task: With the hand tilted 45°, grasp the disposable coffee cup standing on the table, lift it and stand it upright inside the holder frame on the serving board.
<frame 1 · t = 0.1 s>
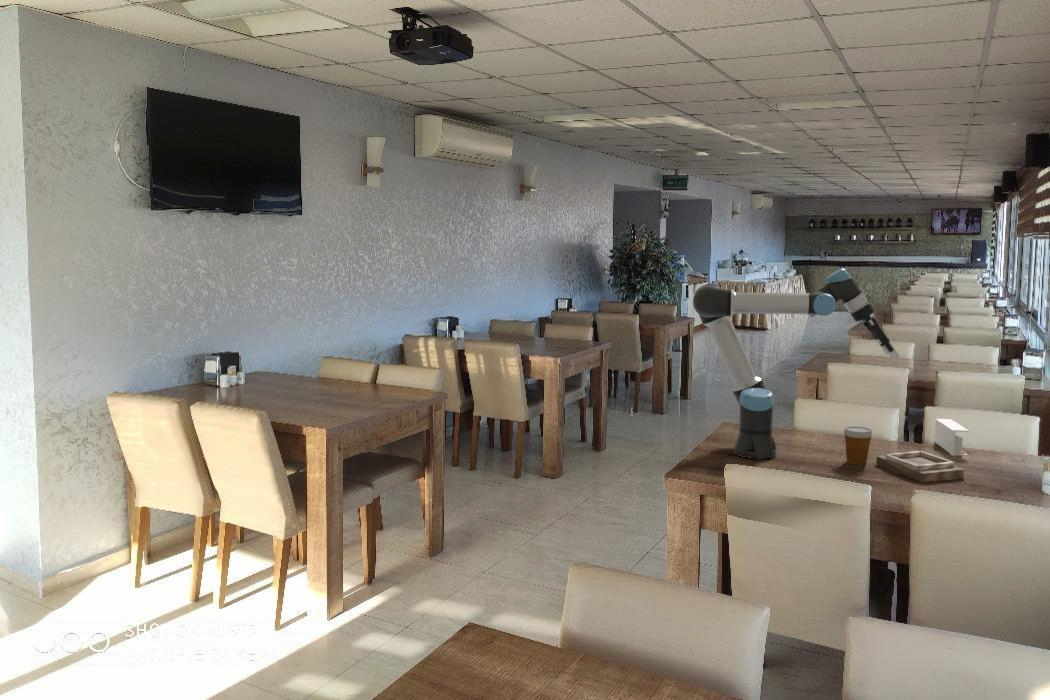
hand: (893, 355, 297), 36 cm above the table, tool tilted 35°, fingers open, 13 cm apart
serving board: (918, 471, 278), on the table
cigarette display: (949, 449, 307), on the table
disposable coffee cup: (856, 463, 288), on the table
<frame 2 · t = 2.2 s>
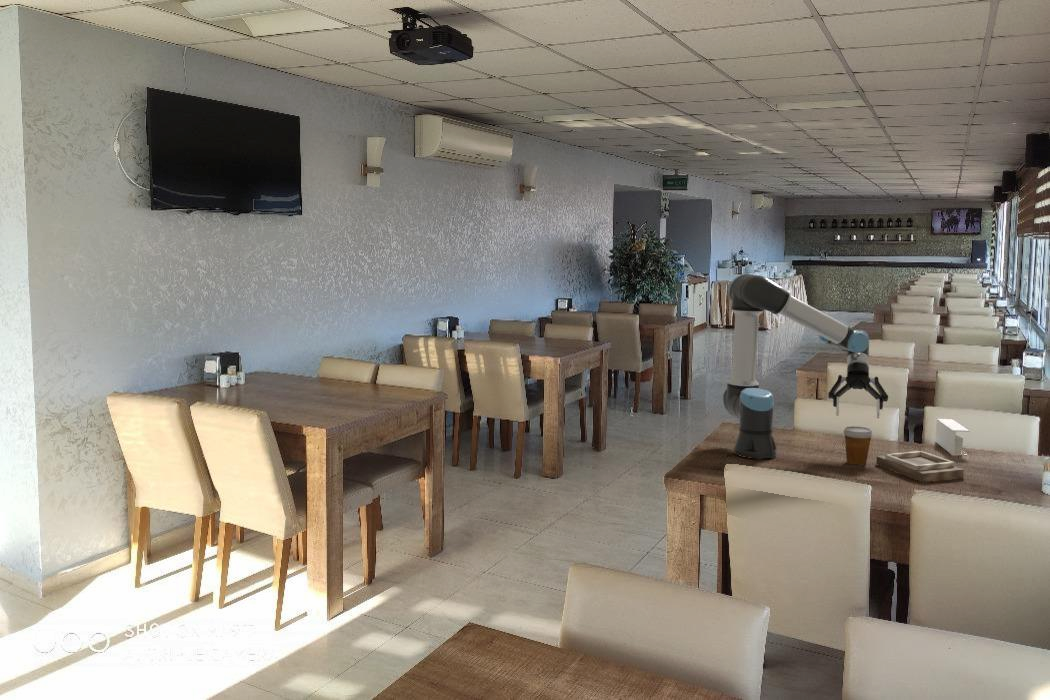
hand: (857, 415, 296), 15 cm above the table, tool tilted 45°, fingers open, 13 cm apart
nothing on the table moved.
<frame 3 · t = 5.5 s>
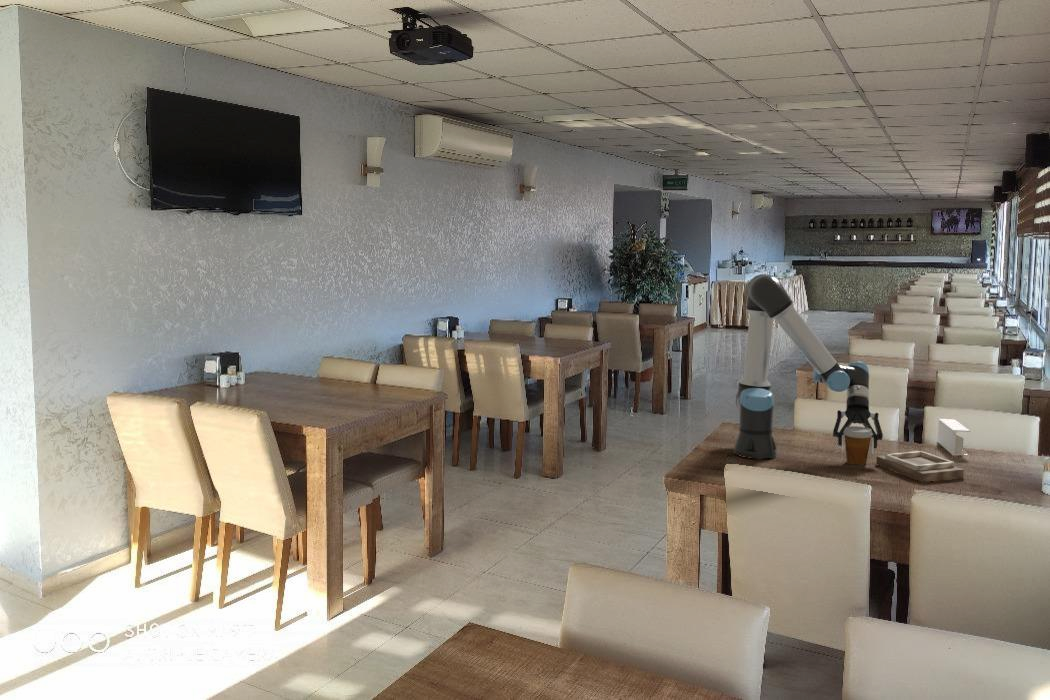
hand: (857, 454, 285), 4 cm above the table, tool tilted 45°, fingers closed on disposable coffee cup, 9 cm apart
disposable coffee cup: (856, 463, 288), on the table, touching gripper
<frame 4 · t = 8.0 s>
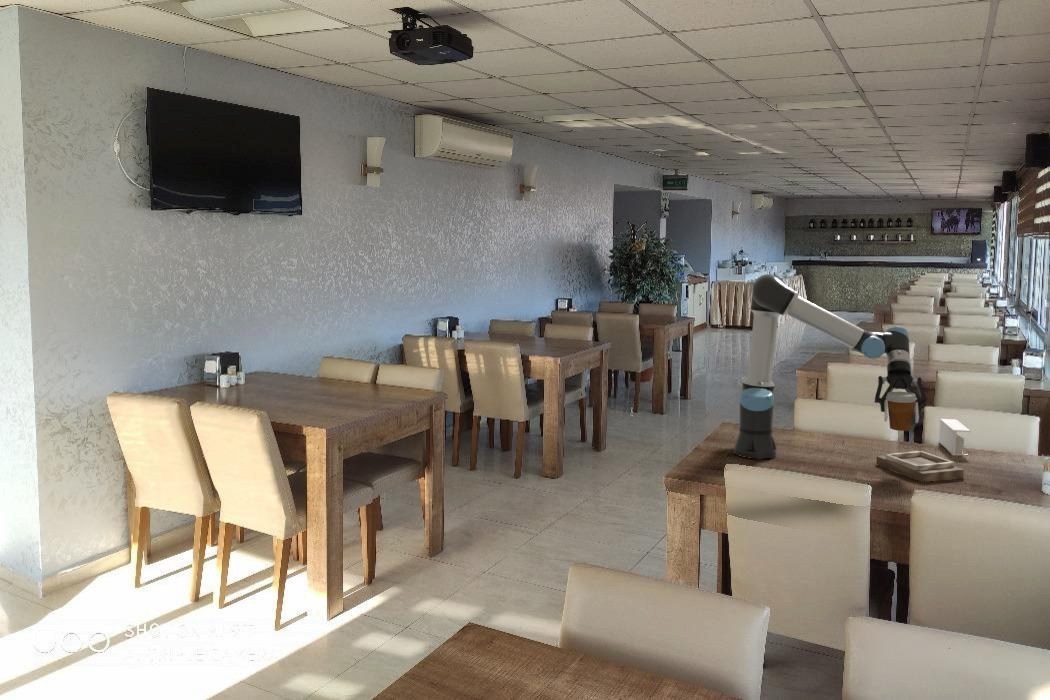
hand: (901, 419, 276), 18 cm above the table, tool tilted 45°, fingers closed on disposable coffee cup, 9 cm apart
disposable coffee cup: (900, 429, 280), point 14 cm above the table, touching gripper
when the fingers open (8 cm above the table, at t = 10.6 s): disposable coffee cup moves 3 cm, resting on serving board.
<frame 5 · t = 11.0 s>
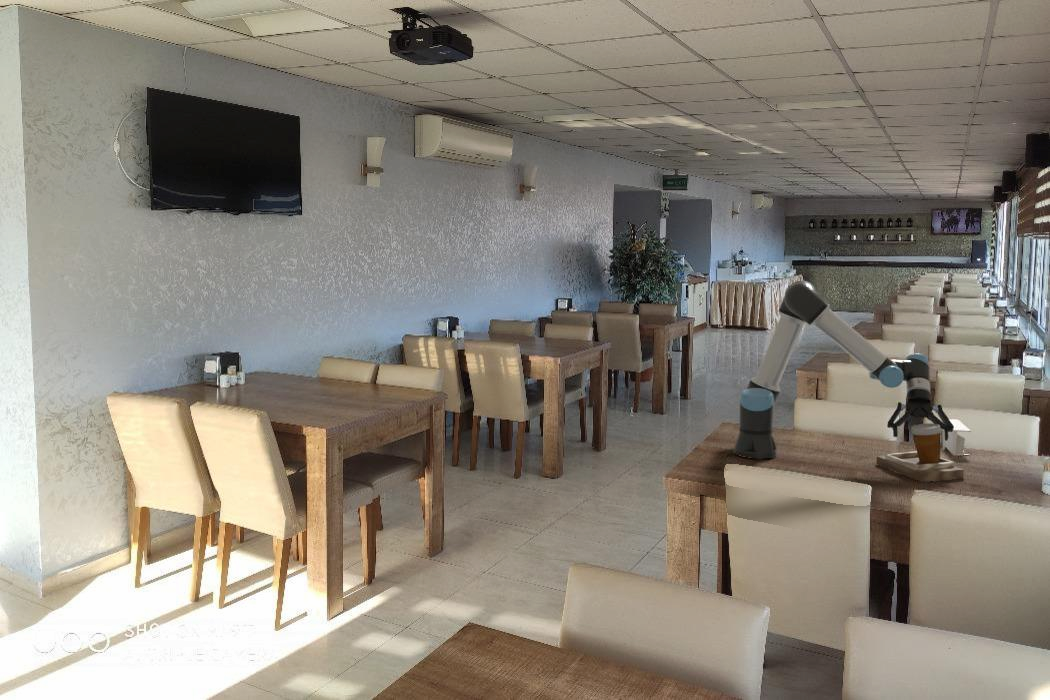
hand: (920, 446, 274), 9 cm above the table, tool tilted 45°, fingers open, 13 cm apart
disposable coffee cup: (929, 461, 277), point 3 cm above the table, touching gripper, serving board
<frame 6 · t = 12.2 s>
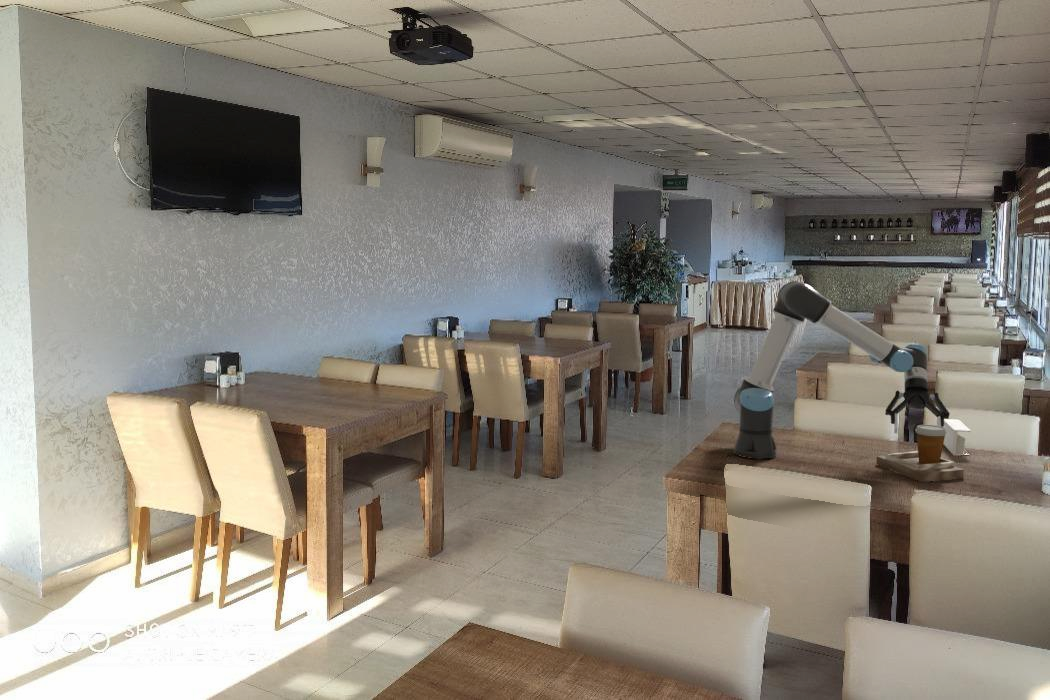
hand: (917, 432, 284), 11 cm above the table, tool tilted 45°, fingers open, 13 cm apart
disposable coffee cup: (929, 462, 277), point 3 cm above the table, touching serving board
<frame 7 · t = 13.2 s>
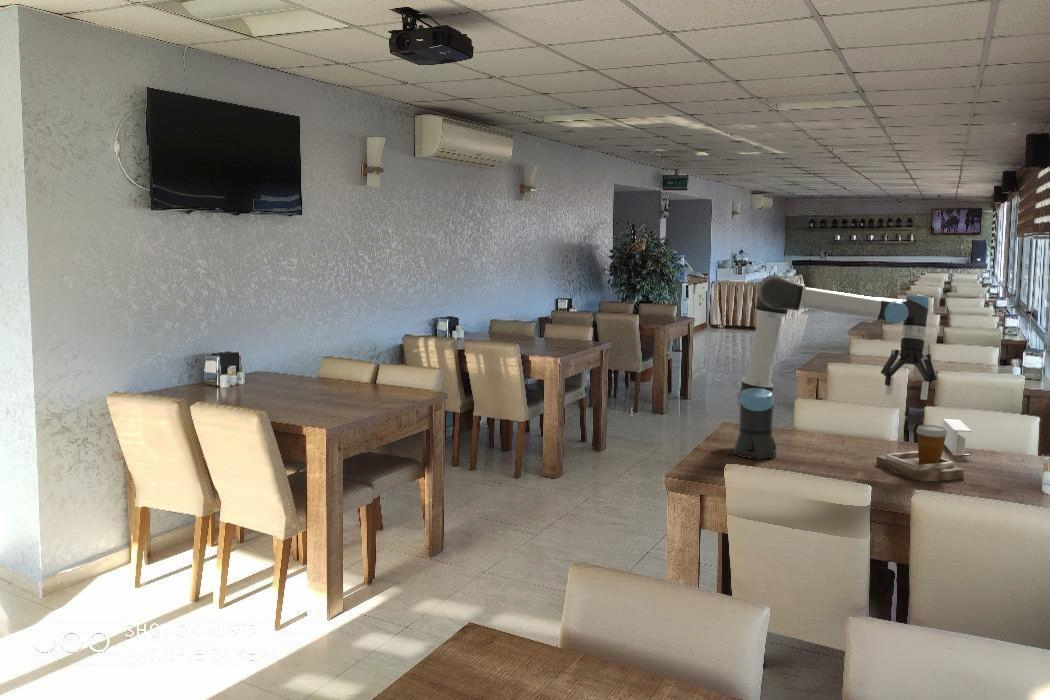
hand: (906, 397, 294), 21 cm above the table, tool pointing down, fingers open, 13 cm apart
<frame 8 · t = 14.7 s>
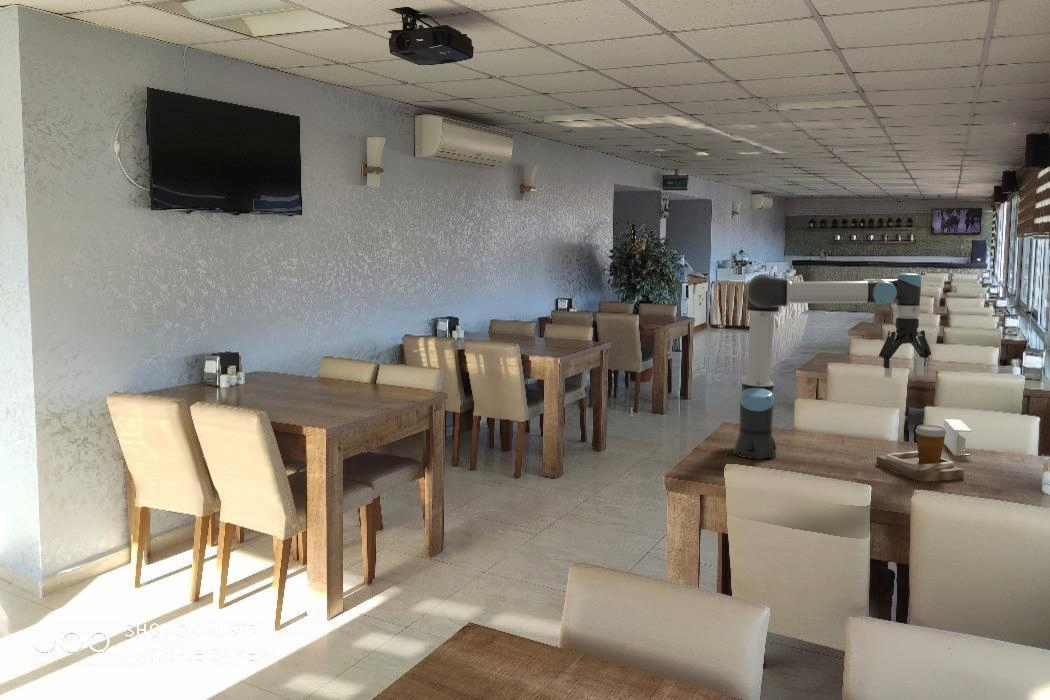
hand: (903, 376, 295), 29 cm above the table, tool pointing down, fingers open, 13 cm apart
at the end: disposable coffee cup 3.3 cm from the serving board (horizontally); disposable coffee cup tilted 0°; disposable coffee cup touching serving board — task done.
